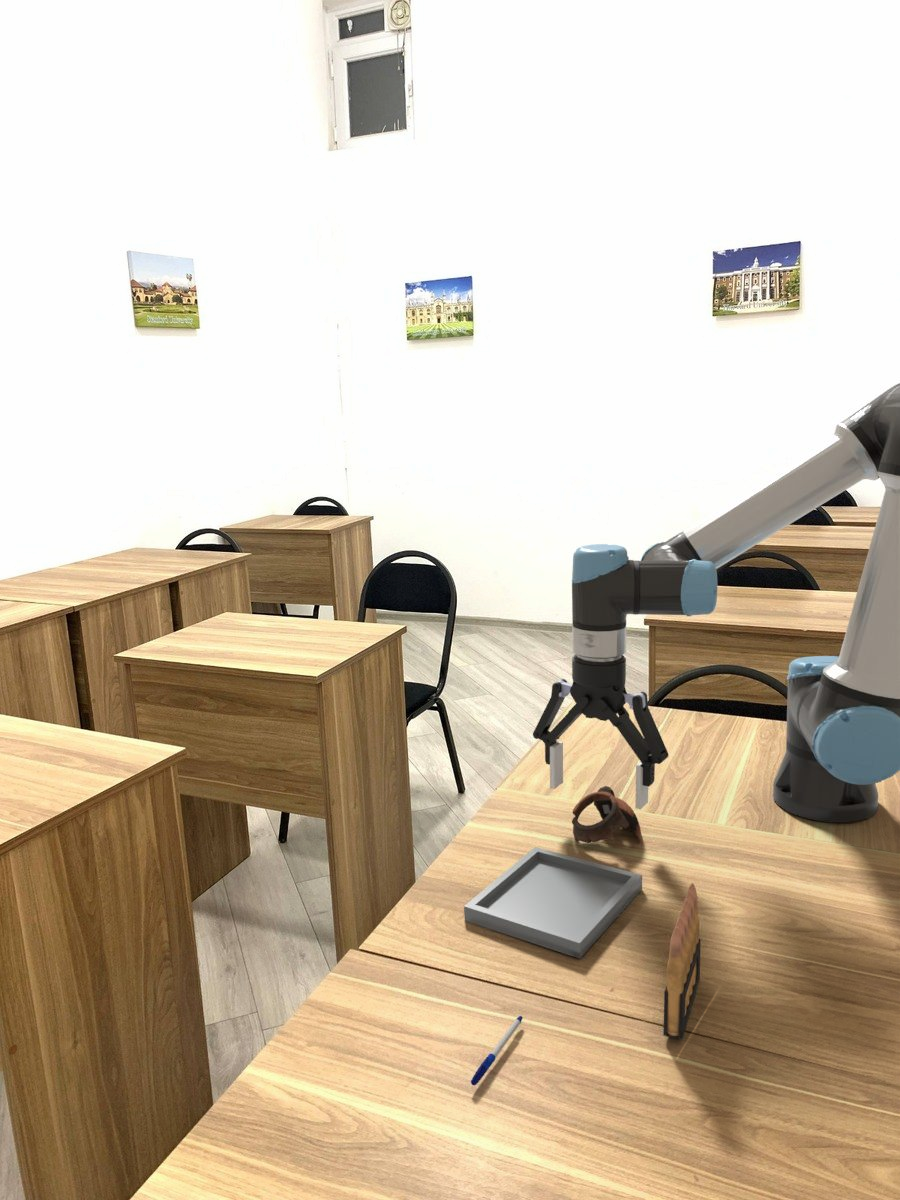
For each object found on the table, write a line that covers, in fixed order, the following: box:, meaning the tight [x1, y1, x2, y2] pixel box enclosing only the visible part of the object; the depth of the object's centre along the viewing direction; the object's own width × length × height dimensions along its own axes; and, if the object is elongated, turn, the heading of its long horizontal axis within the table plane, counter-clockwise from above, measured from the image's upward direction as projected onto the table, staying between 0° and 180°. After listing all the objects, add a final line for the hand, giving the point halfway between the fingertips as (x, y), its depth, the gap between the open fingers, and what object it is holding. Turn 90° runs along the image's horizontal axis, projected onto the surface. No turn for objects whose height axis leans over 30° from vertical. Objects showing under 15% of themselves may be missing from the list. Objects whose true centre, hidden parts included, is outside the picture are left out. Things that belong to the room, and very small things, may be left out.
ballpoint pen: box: [470, 1015, 523, 1086], centre depth 92 cm, size 10×1×1 cm, turn 151°
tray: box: [463, 846, 643, 959], centre depth 118 cm, size 16×18×2 cm
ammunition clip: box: [663, 882, 701, 1041], centre depth 96 cm, size 11×2×12 cm, turn 156°
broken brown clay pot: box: [571, 785, 644, 844], centre depth 135 cm, size 12×10×8 cm
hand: (597, 795), depth 134 cm, fingers open, 13 cm apart
